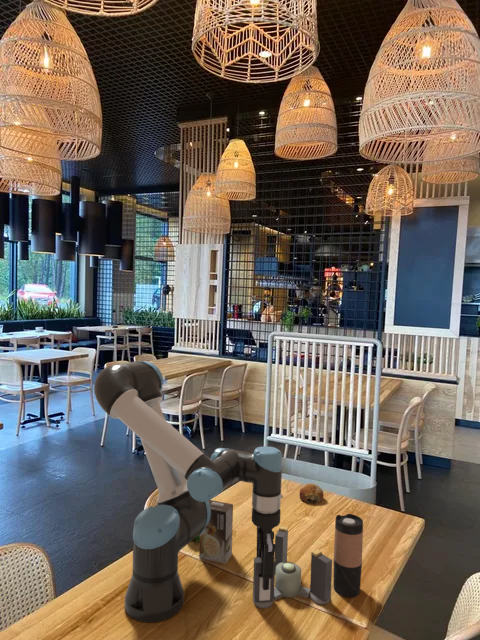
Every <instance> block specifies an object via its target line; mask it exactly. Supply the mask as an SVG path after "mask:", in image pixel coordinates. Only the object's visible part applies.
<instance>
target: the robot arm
mask: <svg viewBox="0 0 480 640" xmlns="http://www.w3.org/2000/svg"><path fill="white" fill-rule="evenodd" d="M94 381H95V382H94V386H93V390H94V392H93V393H94V397H95V400H96V401H97V404H99V406H100V407H101V409H102V410H103V412H105V413H106V414H107V415H108V416H109V417H110V418H112V419H114V420H115V419H116V420H117V419H118V420H119V421H121V422H122V423H123V424H124V425H125V426H127V427H128V428H129V430H131V431H132V432H133V433H134V434H135V435H136V436H137V437H139V440H140V441H141V444H142V447H143V450H144V453H145V456H146V459H147V461H148V462H147V463H148V464H149V467H150V470H151V473H152V476H153V479H154V481H155V484H156V487H157V490H158V493H159V494H158V495H159V496H158V497H157V500H156V503H157V504H156V505H155V506H152V505H151V506H149V507H146V508H145V509H143V510H142V511H141V512H140V513H138V515H137V516H136V518H135V520H134V522H133V531H132V573H131V578H130V581H129V583H128V587H127V590H126V592H125V596H124V610H125V612H126V614H127V615H128V616H129V617H130V618H132V619H133V620H136V621H138V622H142V623H158V622H162V621H165V620H168V619H170V618H172V617H174V616H175V615H177V614H178V613H179V611H180V610H181V609H182V607H183V605H184V600H185V599H184V597H185V594H184V593H185V592H184V587H183V584H182V581H181V578H180V575H179V571H178V570H179V553H180V551H181V550H183V549H184V548H186V546H187V545H188V544H190V543H191V542H192V541H194V540H193V539H194V538H195V537H197V536H199V535H200V534H201V533H202V532H203V530H204V529H205V528H206V527H207V525H208V523H209V521H210V517H211V508H210V504H209V500H212V499H214V498H216V497H218V496H219V495H221V493H222V492H223V491H224V490H225V489H227V488H228V487H229V486H231V485H232V484H233V483H235V482H236V481H239V482H244V483H247V484H249V483H251V484H252V494H251V506H252V508H251V522H252V524H253V525H254V526H255V527H256V557H261V574H258V577H259V578H260V588H259V600H260V601H263V600H270V581H271V579H273V566H274V558H275V547H276V546H275V543H274V540H275V531H273V529H275V528H277V527H278V526H279V525H280V523H281V504H282V503H281V501H282V500H281V499H283V497H284V495H283V494H282V479H283V478H282V477H283V454H282V452H281V450H280V449H278V448H276V447H274V446H265V445H264V446H258V447H256V448H255V449H254V451H253V453H252V452H246V451H242V450H235V449H232V448H229V447H228V448H227V447H226V448H224V447H218V448H215V449H214V451H213V453H211V456H210V457H209V456H207V455H206V454H205V453H204V451H203V452H202V451H201V449H199V447H197V446H196V445H194V444H193V442H191V441H190V440H189V439H188V438H186V437H185V435H184V434H182V433H181V432H180V431H178V429H176V428H175V427H174V426H173V425H172V424H170V423H169V422H168V421H167V420H166V418H165V415H164V413H163V410H162V408H161V402H162V400H163V395H162V389H163V385H164V376H163V373H162V372H161V370H160V368H159V367H158V366H157V365H156V364H155V363H152V362H151V361H146V360H135V361H131V362H126V363H125V362H124V363H118V364H112V365H109V366H107V367H105V368H103V369H102V370H101V371H100V372H99V374H98V375H97V376H96V379H95V380H94ZM256 557H255V558H256Z"/></svg>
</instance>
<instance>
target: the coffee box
mask: <svg viewBox="0 0 480 640" xmlns="http://www.w3.org/2000/svg"><path fill="white" fill-rule="evenodd" d="M209 504H210V508H211V517H210V521H209V523H208V525H207V527H206V528H205V529H204V530H203V532H202V533H201V534H200V541H198V543H199V550H198V551H199V552H198V553H199V554H198V556H199V557H198V558H199V559H203V560H206V561H212V562H217V563H221V564H224V565H225V564H227V563H228V561H229V560H230V558H231V557H232V555H233V525H234V524H233V520H234V519H233V517H234V516H233V515H234V512H233V511H234V504H232V503H228V502H223V501H217V500H212V499H210V500H209Z"/></svg>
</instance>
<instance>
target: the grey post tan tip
mask: <svg viewBox="0 0 480 640" xmlns="http://www.w3.org/2000/svg"><path fill="white" fill-rule="evenodd" d="M310 555H311V559H310V560H311V562H310V586H309V589H310V594H309V596H310V600H311V602H313V603H315V605H316V604H317V605H321V606H322V605H324V606H325V605H328V604H329V603H330V602H331V599H332V597H331V596H332V575H333V574H332V573H333V572H332V571H333V559H331V558H329V557H328V556H326V555H325V554H323V551H322V550H320V549H318V548H316V549H315V550H312V551H311V554H310Z"/></svg>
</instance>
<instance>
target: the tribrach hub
mask: <svg viewBox="0 0 480 640" xmlns="http://www.w3.org/2000/svg"><path fill="white" fill-rule="evenodd" d="M301 582H302V568H301V567H300V565H298V564H297V563H294V562H291V561H287V562H281V563H279V564H278V565H277V566H276V574H275V582H274V601H277V600H278V599H281V598H282V597H284V598H287V599H288V598H289V599H291V598H296V597H303V598H306V599H309V596H310V595H311V592H310V587H305V586H302V583H301Z"/></svg>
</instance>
